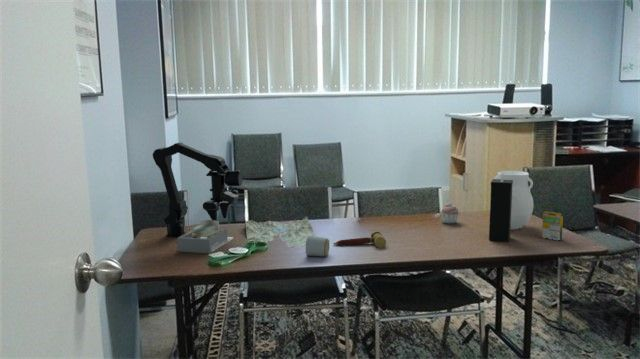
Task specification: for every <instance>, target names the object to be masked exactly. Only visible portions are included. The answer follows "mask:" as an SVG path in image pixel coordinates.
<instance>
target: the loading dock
mask: <svg viewBox="0 0 640 359" xmlns="http://www.w3.org/2000/svg"><path fill="white" fill-rule="evenodd" d="M192 233H193V229H192V230H190V231H188V232H185V234H183V235H181V236H179V237H177V250H178V252H184V253H186V252H187V253H196V254H197V253H198V254H199V253H200V254H211V253H213V252H214V251H216V250H218V249H220V247H222V246H223V245H225V244H227V243H229V242H230V241H232V240H233V239H234V237H233V236H228V229H224V228H223V229H222V230H221V231H220V230H219V232H218V233H217V234H215V235H213V236H211V237H210V238H208V239H207V237H197V238H193V236H192Z"/></svg>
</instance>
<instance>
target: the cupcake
mask: <svg viewBox="0 0 640 359" xmlns="http://www.w3.org/2000/svg"><path fill="white" fill-rule="evenodd" d="M439 214H440V216H441V221H442V223H443V224H446V223H447V225H448V224H449V225H453V224H456V223H457V221H458V217H459V215H460V211H459V209H458V208H457V206H456V205H454V204H453V203H452V202H451V201H449V202H447V203H445V205H444V206H442V208H441V211H440V212H439Z"/></svg>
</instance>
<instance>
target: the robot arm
mask: <svg viewBox="0 0 640 359" xmlns="http://www.w3.org/2000/svg"><path fill="white" fill-rule="evenodd" d="M176 154H181V155H184V156H185V157H188V158H189V159H192V160H195V161H197V162H199V163H201V164H203V166H205V168H207V169H208V170H209V171H208V172H207V173H206V177H210V178H211V179H210V180H211V182H210V184H211V187H210V188H209V192H211V197H210V200H206V201H205V202H203V203H202V209H203V210H204V211H206V213H207V214H208V216H209V217H210V220H216V221H218V212H219V210H220V212H221V215H222V217H223V219H227V216H228V212H229V209H230V206H231V205H234V204H235V203H237V202H238V199H239V198H240V196H239V195H240V194H239V191H238V190H236V189H235V190H233V191H228V187H242V184H243V176H242V175H243V174H242V173H241V170H239V169H237V170H231V168H230V167H229V166H228V165H227V164H226V160H225V158H224V157H222V156H219V155H215V154H208V153H206V152H203V151H200V150H199V149H195V148H193V147H192V146H189V145H186V144H184V143H183V142H176V143H174V144H172V145H170V146H168V147H160V148H156V149H155V150H154V151H153V153H152V158H153V161H154V163H155V165H156V166H157V168H159V170H160V172H161V177H162V179H163V184H164V187H165V191H166V194H167V198H168V215H167V216H166V217H165V218H164V219H163V221H164V224H165V225H166V233H167V234H165V237H170V238H171V237H173V238H178V237H180V236H182V235H184V234H186V232H185V229H184V228H185V227H184V224H183V222H184V221H183V220H184V218H185V216H186V215H187V214H188V209H189V207H188V206H187V202H186V200H185V199H184V200H183V199H182V198H181V197H180V194H179V191H178V186H177V182H176V179H175V175H174V172H173V169H172V164H173V156H175V155H176ZM226 186H228V187H226Z"/></svg>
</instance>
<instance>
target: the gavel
mask: <svg viewBox="0 0 640 359" xmlns="http://www.w3.org/2000/svg"><path fill="white" fill-rule="evenodd" d="M370 243H374V245H375V247H376V248H385V246H386V245H387V241H386V238H385V237H383V235H382V232H381V231H378V230H375V231H372V233H371V234H370V237H367V236H366V237H358V238H347V239H340V240H337V241H336V242H333V244H332V245H334V246H335V245H336V246H340V247H344V245H346V246H357V245H366V244H367V245H368V244H370Z"/></svg>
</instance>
